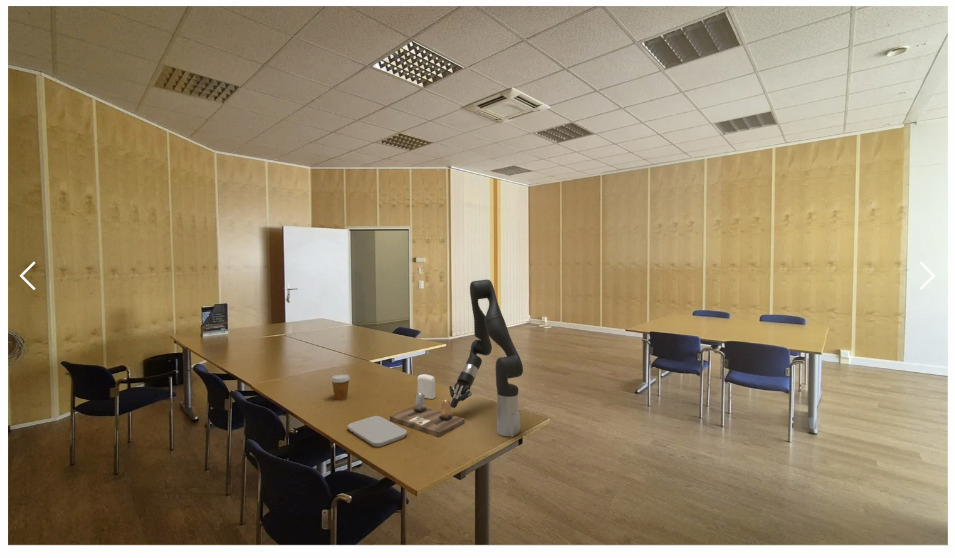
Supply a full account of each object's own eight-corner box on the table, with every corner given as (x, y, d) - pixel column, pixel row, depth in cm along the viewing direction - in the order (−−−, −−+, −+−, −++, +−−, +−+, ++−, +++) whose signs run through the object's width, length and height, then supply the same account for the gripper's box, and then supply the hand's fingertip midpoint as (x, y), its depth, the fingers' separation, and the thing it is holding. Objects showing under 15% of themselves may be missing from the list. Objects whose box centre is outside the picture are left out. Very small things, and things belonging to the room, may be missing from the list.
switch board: (464, 422, 186) (464, 417, 186) (439, 437, 172) (439, 431, 171) (416, 408, 203) (416, 404, 203) (389, 420, 189) (389, 415, 189)
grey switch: (426, 409, 196) (426, 392, 195) (420, 412, 192) (420, 395, 192) (419, 407, 198) (419, 390, 198) (413, 410, 195) (413, 393, 194)
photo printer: (416, 396, 220) (416, 374, 219) (420, 394, 224) (420, 372, 223) (432, 400, 215) (432, 377, 215) (436, 397, 219) (436, 375, 219)
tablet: (377, 419, 191) (377, 414, 191) (409, 437, 172) (409, 432, 172) (345, 430, 179) (344, 425, 179) (376, 450, 161) (376, 444, 161)
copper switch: (452, 417, 187) (452, 399, 186) (446, 420, 183) (446, 402, 183) (445, 415, 189) (445, 397, 189) (439, 418, 186) (439, 400, 185)
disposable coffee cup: (353, 395, 222) (352, 374, 221) (345, 402, 212) (345, 379, 211) (336, 395, 222) (335, 373, 222) (328, 401, 213) (327, 378, 212)
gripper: (454, 368, 201) (437, 400, 191) (475, 373, 193) (460, 406, 184) (460, 376, 205) (445, 407, 196) (482, 381, 198) (467, 414, 188)
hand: (452, 407), depth 190 cm, fingers closed
